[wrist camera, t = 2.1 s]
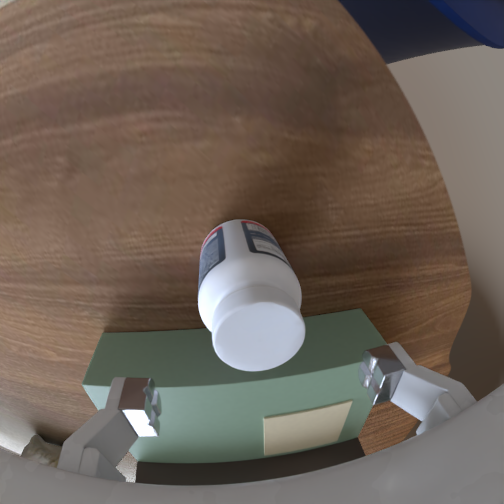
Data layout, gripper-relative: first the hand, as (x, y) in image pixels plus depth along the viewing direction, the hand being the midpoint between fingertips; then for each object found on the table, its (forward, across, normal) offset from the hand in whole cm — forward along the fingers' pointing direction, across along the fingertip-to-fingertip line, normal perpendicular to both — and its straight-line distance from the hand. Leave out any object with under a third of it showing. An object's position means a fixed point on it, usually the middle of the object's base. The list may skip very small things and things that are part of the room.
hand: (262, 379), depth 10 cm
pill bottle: (+11, 0, 0) cm, 11 cm away
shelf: (+11, +1, +13) cm, 17 cm away
